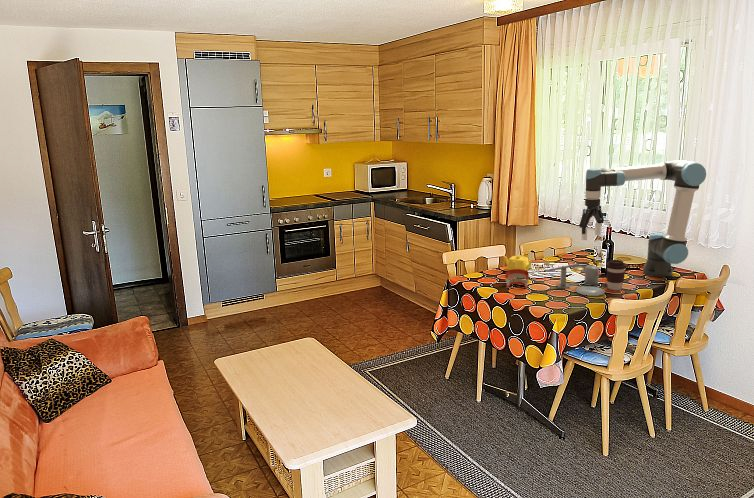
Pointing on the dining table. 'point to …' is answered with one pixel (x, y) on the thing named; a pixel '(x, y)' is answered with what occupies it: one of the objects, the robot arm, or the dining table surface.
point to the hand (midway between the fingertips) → (591, 237)
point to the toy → (516, 274)
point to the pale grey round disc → (590, 291)
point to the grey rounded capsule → (591, 275)
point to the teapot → (518, 262)
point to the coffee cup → (615, 274)
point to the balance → (563, 273)
